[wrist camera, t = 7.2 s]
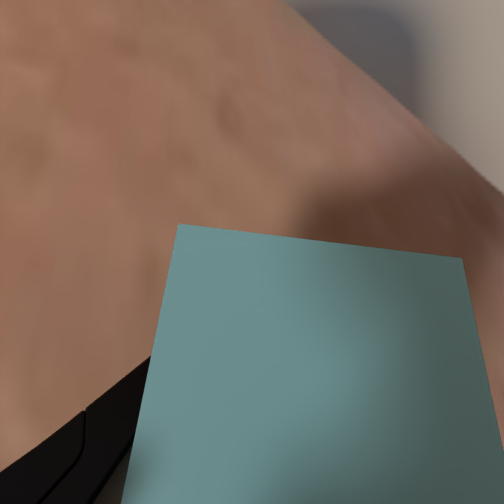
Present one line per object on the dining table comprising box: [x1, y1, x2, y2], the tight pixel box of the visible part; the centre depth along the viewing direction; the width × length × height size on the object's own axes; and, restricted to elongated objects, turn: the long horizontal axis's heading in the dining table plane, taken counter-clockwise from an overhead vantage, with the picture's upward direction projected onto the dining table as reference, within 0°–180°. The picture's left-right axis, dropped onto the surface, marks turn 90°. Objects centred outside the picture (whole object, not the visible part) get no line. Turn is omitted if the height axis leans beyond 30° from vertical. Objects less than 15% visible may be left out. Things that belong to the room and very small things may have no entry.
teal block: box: [121, 224, 504, 504], centre depth 8 cm, size 4×6×12 cm, turn 175°
